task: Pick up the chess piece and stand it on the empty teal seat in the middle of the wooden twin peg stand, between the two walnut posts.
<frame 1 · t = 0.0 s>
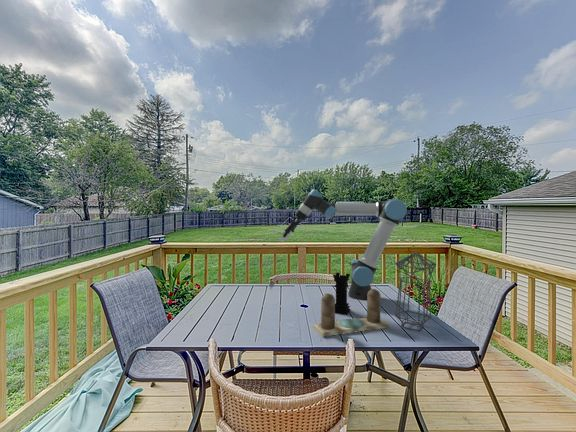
hand: (282, 240, 186), 36 cm above the table, tool tilted 35°, fingers open, 13 cm apart
chess piece: (341, 311, 162), on the table
wooden twin peg stand: (351, 328, 139), on the table
geometric lantern: (414, 327, 141), on the table
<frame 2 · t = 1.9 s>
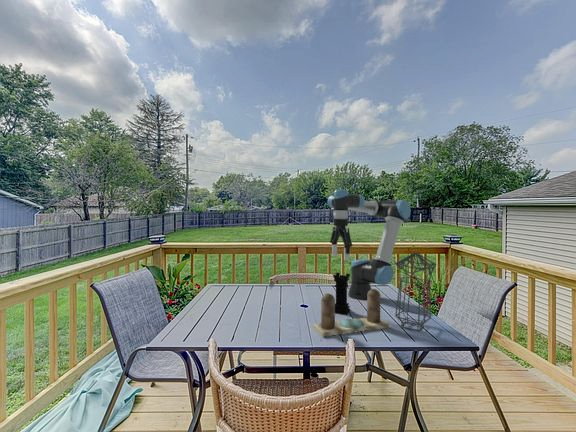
hand: (340, 258, 162), 29 cm above the table, tool pointing down, fingers open, 13 cm apart
nothing on the table moved.
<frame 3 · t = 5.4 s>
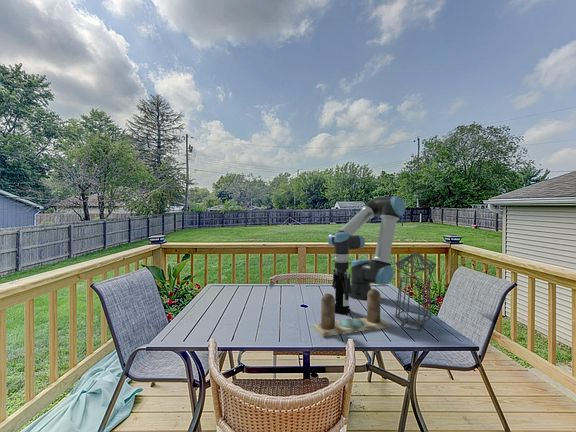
hand: (341, 303, 162), 4 cm above the table, tool pointing down, fingers closed on chess piece, 9 cm apart
chess piece: (341, 311, 162), on the table, touching gripper
everything else where it was.
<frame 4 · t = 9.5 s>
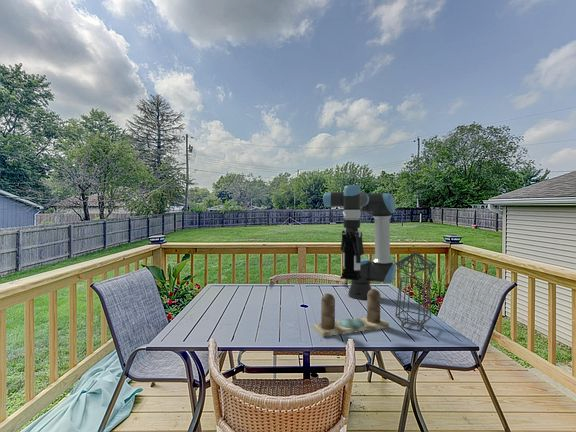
hand: (351, 268, 139), 28 cm above the table, tool pointing down, fingers closed on chess piece, 9 cm apart
chess piece: (351, 278, 139), point 23 cm above the table, touching gripper
everything else where it was.
when the fingers open (8 cm above the table, at t = 14.1 s): chess piece drops 2 cm, resting on wooden twin peg stand.
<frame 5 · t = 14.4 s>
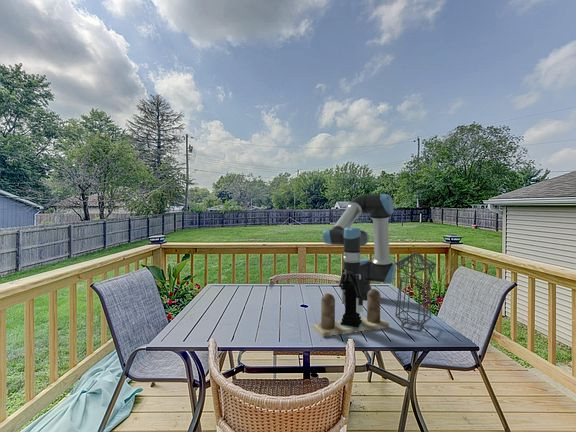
hand: (351, 307, 139), 10 cm above the table, tool pointing down, fingers open, 12 cm apart
chess piece: (351, 323, 139), point 2 cm above the table, touching wooden twin peg stand
everything else where it was.
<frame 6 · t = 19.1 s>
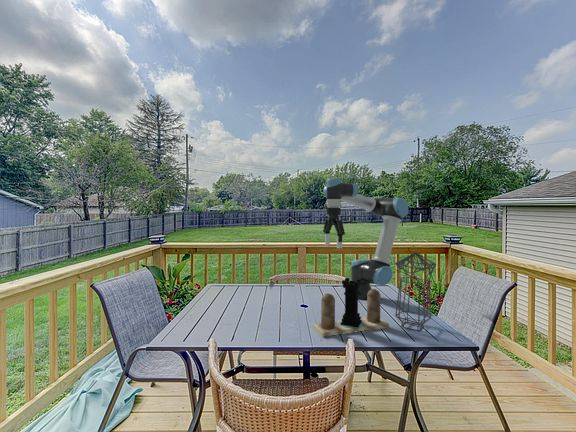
hand: (333, 246, 162), 35 cm above the table, tool pointing down, fingers open, 13 cm apart
nothing on the table moved.
at the end: chess piece 0.0 cm off-centre on the wooden twin peg stand, point 2.1 cm above the wooden twin peg stand's base; chess piece tilted 0°; the gripper is holding nothing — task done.
